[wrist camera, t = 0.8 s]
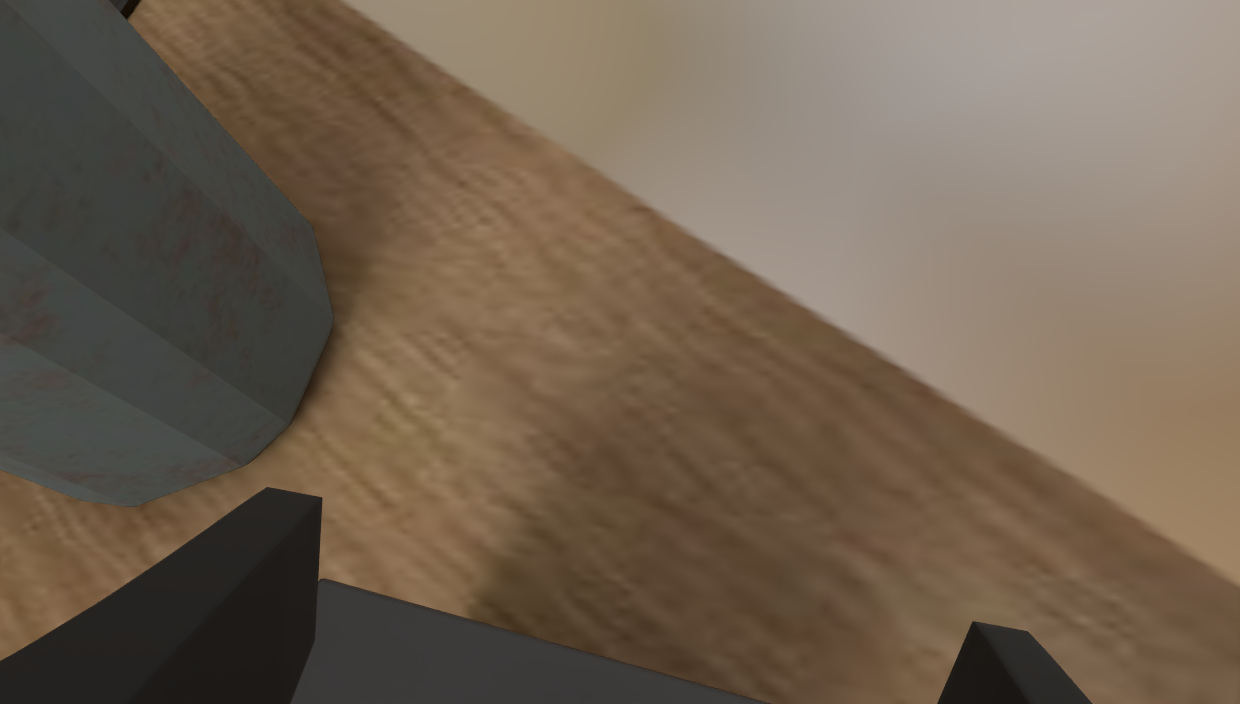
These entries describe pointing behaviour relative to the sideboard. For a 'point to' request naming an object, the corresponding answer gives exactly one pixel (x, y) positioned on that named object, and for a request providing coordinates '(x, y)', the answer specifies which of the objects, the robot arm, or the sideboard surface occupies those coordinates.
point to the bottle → (138, 269)
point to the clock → (463, 662)
